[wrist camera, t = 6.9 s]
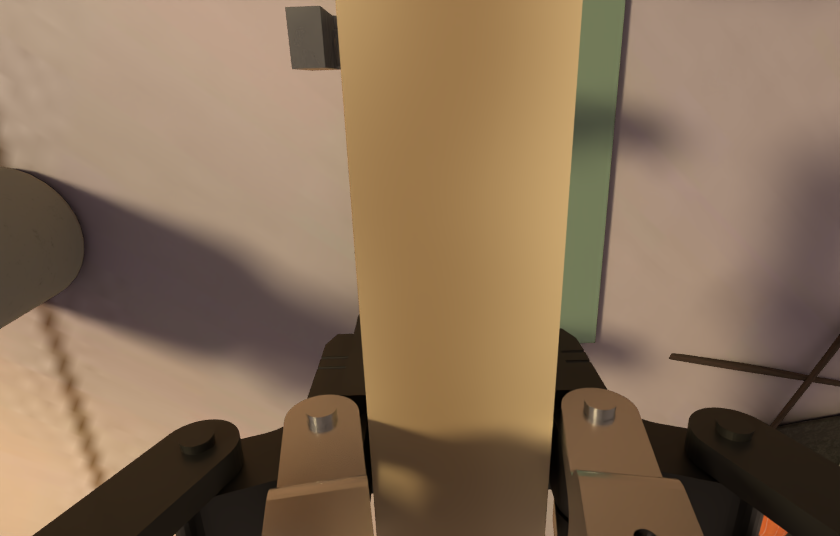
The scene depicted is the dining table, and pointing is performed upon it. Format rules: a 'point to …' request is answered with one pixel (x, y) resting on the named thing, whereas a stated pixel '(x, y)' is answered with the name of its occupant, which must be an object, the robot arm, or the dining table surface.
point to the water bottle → (34, 244)
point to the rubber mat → (591, 164)
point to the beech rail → (459, 250)
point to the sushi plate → (822, 436)
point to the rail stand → (313, 38)
